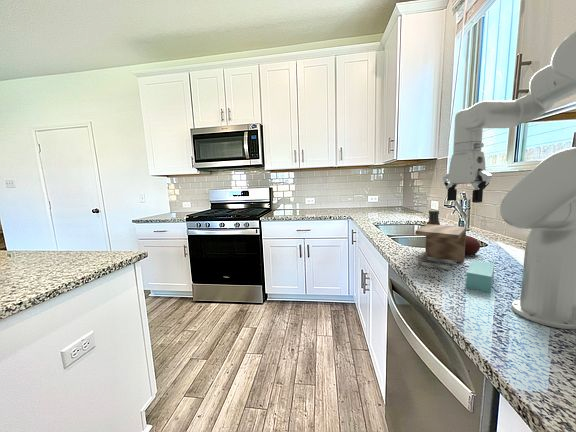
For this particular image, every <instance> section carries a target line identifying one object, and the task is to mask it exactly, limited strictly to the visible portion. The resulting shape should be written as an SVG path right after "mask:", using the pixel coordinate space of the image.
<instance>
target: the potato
mask: <svg viewBox="0 0 576 432" xmlns="http://www.w3.org/2000/svg"><path fill="white" fill-rule="evenodd" d="M480 249H481V245H480V242H479V241H478V240H477V239H476V238H474V237H472V236H470V235H466V240H465V255H464V256H472V255H476V254H477V253H478V252H479V251H480Z"/></svg>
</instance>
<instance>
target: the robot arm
mask: <svg viewBox="0 0 576 432" xmlns="http://www.w3.org/2000/svg"><path fill="white" fill-rule="evenodd" d="M528 87H529V93H527V94H526V95H524V96H522V97H520V98H517V99H514V100H483V101H479V102H477V103H475V104H474V105H472V106H470V107H468V108H465V109H461V110H459V111H457V113H456V114H455V116H454V131H453V132H454V133H453V149H452V155H451V158H450V161H449V169H448V173H447V174H446V175H444V176H443V177H442V179H443V182H444V186H445V190H447V196H446V197H447V198H446V199H447V201H450V202H452V201H454V202H455V201H457V194H458V190H457V189H456V188H457V187H458V185H465V184H466V185H470V184H471V185H472V187H473V188H474V189H473V190H472V197H471V198H472V199H471V203H472V204H473V203H477V204H478V203H482V202H483V194H484V190H485V189H486V187H488V186H489V185H490V182H491V180H492V179H493V174H491V173H489V172H487V171H486V159H485V153H484V151H482V148H483V147H484V144H485V143H483V130H484V129H509V128H514V127H517V126H520V125H522V124H525V123H528V122H529V121H530V122H531V121H532V120H535V119H537V118H539V117H541V116H542V115H544V114H545V113H546V112H548V111H549V110H550V109H551V108H553V107H554V105H555V103H558V102H560V101H562V100H565V99H567V98H569V97H572V96H574V95H576V30H575V31H574V32H572V33H571V34H570V35H568V36H566V37H565V39H563V41H561V42H560V43H559V44H558V46H557V47H556V49H554V52H553V54H552V57H551V61H550V64H548V65H546V66H545V67H543V68H541V69H539V70H537V72H535V73H534V75H532V77H531V78H530V81H529V86H528ZM499 211H500V212H499V213H500V216H501V218H502V220H503V221H504V222H505V223H506V224H507V225H509V226H512V227H514V228H518V229H523V230H526V229H527V230H530V231H529V233H528V236H527V239H526V242H525V248H524V256H523V257H524V259H523V269H522V270H523V271H522V277H521V290H520V299H515V300H514V301H512V302H511V309H512V311H513V312H514V313H515V314H517V315H518V316H521V317H522V318H525V319H526V320H529V321H531V322H534V323H537V324H540V325H543V326H547V327H552V328H556V329H557V328H558V329H563V330H576V147H575V146H574V147H569V148H564V149H562V150H559V151H557V152H555V153H552V154H551V155H549V156H547V157H546V158H544V159H543V160H542V161H541V162H539V163H538V164H537V165H536V166H534V168H533V169H532V170H530V172H529V173H527V174H525V176H524V177H523V178H522V179H521V180H519V182H518V183H517V184H515V185H514V186H513V187H512V188H511V189H510V190H509V191H508V192H507V193H506V194H505V196H504V197H503V199H502V201H501V203H500V207H499Z"/></svg>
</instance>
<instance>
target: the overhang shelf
mask: <svg viewBox="0 0 576 432" xmlns="http://www.w3.org/2000/svg"><path fill="white" fill-rule="evenodd" d="M414 234H415V236H416V235H417V236H424V237H425V241H426V249H425V251H424V252H423V253H422V254H421V255H420V256H418V265H419V266H423V267H424V266H426V267H429V268H436V269H441V270H447V271H453V266H450V264H451V265H457V263H465V256H466V255H465V240H466V236H467V226H458V225H457V226H456V225H447V224H445V225H444V224H440V225H433V224H427V223H426V224H425V225H424V226H421V227H420V228H417V229H416V230H415V233H414ZM426 261H431V262H426ZM433 262H439V263H445V264H449V265H443V264H439V263H433Z"/></svg>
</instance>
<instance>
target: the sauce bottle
mask: <svg viewBox="0 0 576 432" xmlns="http://www.w3.org/2000/svg"><path fill="white" fill-rule="evenodd" d="M439 215H440V210H435V209H433V210H428V221H427V223H426V225H427V224H433V225H441V223H440V221H439ZM424 243H425V245H424V246H425V247H424V248H425V250H426V240H425V242H424Z"/></svg>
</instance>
